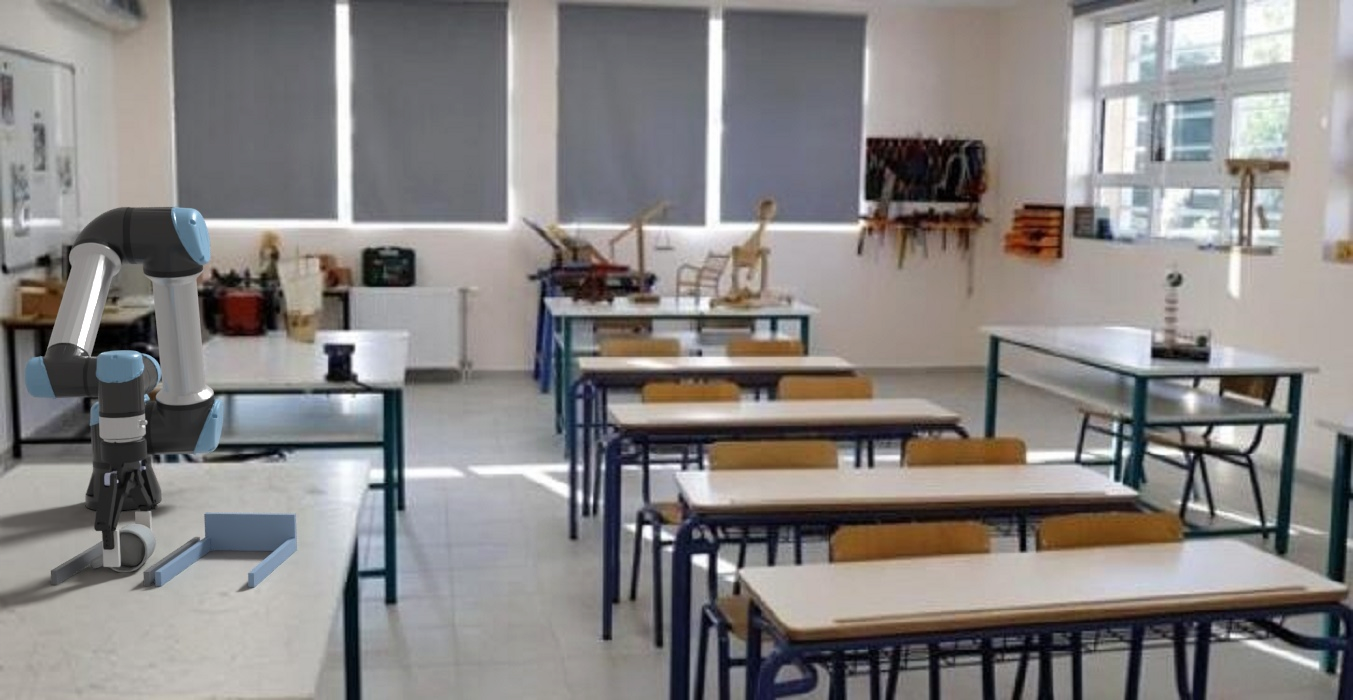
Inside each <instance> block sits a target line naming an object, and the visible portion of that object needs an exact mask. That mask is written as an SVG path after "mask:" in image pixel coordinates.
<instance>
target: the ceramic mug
mask: <svg viewBox="0 0 1353 700" xmlns="http://www.w3.org/2000/svg"><path fill="white" fill-rule="evenodd" d="M118 530H119V537H120V558H121V566H120V567H109V568H110V569H111V570H113V571H114V572H118V573H132V572H134V571H137V570H138V569H140V568H141V567H142V566H143V565H144V564H145V563H146V562H147V561H148V560H149V558H151V556H152V555H153V554H154V552H155V549H156V545H157V539H156V535H155V533H154V532H153V530H152V531H151V530H150V529H149V528H148V527H146V526H144V525H141V524H136V523H129V524H126V525H124V526H122V527H121V528H119V529H118ZM90 563H91V565H90V566H91V567H92V568H93V570H95V569H99V568H101V567H104V566H103V548H102V555H99V556H98V557H96V558H94V559H92V560H91V561H90Z"/></svg>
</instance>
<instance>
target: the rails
mask: <svg viewBox="0 0 1353 700" xmlns="http://www.w3.org/2000/svg"><path fill="white" fill-rule="evenodd" d="M200 540H201V537H200V536H194V537H193V538H191V539H189V540H188V541H187V542H185V543H184V544H183V545H181V546H180V547H178V548H176V549H174V550H173V551H172V552H171V553H169V554H168V555H166V556H165V557H162V559H160V560H158V561H157V562H156V563H154V564H153V565H150V567H148V568H147V569H144V571H143V573H142V574H143V586H144V587H150V586H152V585H153V584H154V583H155V572H156V571H157V570H159V569H160V568H161V567H163V566H164V565H166V564H167V563H169V562H170V561H172V560H173V559H174V558H176V557H177V556H179V555H180V554H182V553H183V552H184V551H186V550H187V549H189V548H190V547H192V546H193V545H195V544H196V543H197V542H199V541H200ZM102 548H103V546H102V540H101V541H99V542H98V543H96V544H94V545H93V546H91V547H89V548H88V549H87V548H86V549H85V550H83V551H82V552H80V553H79V554H77V555H75V556H73V557H72V558H70V559H68V560H66V561H65V562H63V563H61V564H60V565H58V566H56V567H54V568H53V569H50V583H51V586H53V585H54V586H57V585H59V584H61V583H63V582H64V581H66V580H68V579H69V578H72V577H73V576H75V575H76V574H77V573H79V572H81V571H82V570H84V569H86V568H87V567H89V566H92V565H91V563H90V561H91V560H92V559H94V558H96V557H98V556H99V555H102ZM155 584H156V583H155Z"/></svg>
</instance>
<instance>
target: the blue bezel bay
mask: <svg viewBox="0 0 1353 700" xmlns="http://www.w3.org/2000/svg"><path fill="white" fill-rule="evenodd" d="M203 514H204V516H203V517H204V538H202V539H200V541H199V542H197V543H196V544H195V545H193V546H192V547H190V548H189V549H187V550H186V551H184V552H183V553H182V554H180V555H179V556H177V557H176V558H174V559H173V560H172V561H170V562H169V563H167V564H166V565H164V566H163V567H161V568H160V569H159V570H157V571H156V572H155V587H163V586H164V585H165V584H167V583H168V582H170V581H171V580H172V579H173V578H175V577H176V576H178V575H179V574H181V573H182V572H184V570H186V569H187V568H189V567H190V566H191V565H193V564H194V563H195V562H197V561H198V560H199V559H201V558H203V557H204V556H206V555H207V554H208V553H210V551H238V552H239V551H242V552H243V551H246V552H249V551H250V552H251V551H253V552H255V551H256V552H257V551H258V552H261V551H262V552H263V551H264V552H271V553H270V554H269V555H268V556H266V558H264V559H263V560H262V561H261V562H259V563H258V564H256V566H254V568H252V569H251V570H249V572H248V573H247V582H248V588H256V586H258V585H259V584H260V583H261V582H262V581H263V580H264V579H266V578H267V577H268V576H269V575H270V574H271V573H272V572H274V571H275V569H277V568H278V567H279V566H280V565H282V563H284V562H285V561H286V560H287V559H288V558H290V557H291V556H292V555H293V554H294V553H295V552H296V551H297V550H298V541H297V539H298V538H297V537H298V536H297V533H298V532H297V513H291V512H290V513H289V512H288V513H285V512H284V513H281V512H280V513H279V512H278V513H277V512H276V513H273V512H272V513H271V512H263V513H262V512H205V513H203Z"/></svg>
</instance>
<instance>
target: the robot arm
mask: <svg viewBox="0 0 1353 700" xmlns="http://www.w3.org/2000/svg"><path fill="white" fill-rule="evenodd" d="M211 254H212V253H211V241H210V235H209V229H208V227H207V224H206V221H205V219H204V216H203V215H202V214H201V212H200V211H199V210H197V209H196V208H191V207H178V206H151V207H144V206H143V207H140V206H139V207H137V206H135V207H134V206H133V207H130V206H121V207H115V208H113V209H110V210H107V211H105V212H102V213H101V214H99V215H98V216H96V217H95V218H94V219H92V220H91V221H90V222H89V223H88V224H87V225H85V227H84V228H83V229H82V230H81V231H80V232H79V234H77V237H76V238H75V240H74V241H73V244H72V246H71V250H70V253H69V256H68V258H69V259H68V260H69V264H70V266H71V269H70V272H69V275H68V279H67V282H66V285H65V288H64V292H63V295H62V297H61V298H62V299H61V301H60V305H59V308H58V312H57V314H56V317H55V321H54V326H53V327H52V328H53V329H52V332H51V335H50V337H49V342H48V346H47V349H46V352H45V354H44V356H41V355H39V356H33V357H31V358H30V359H28V361H27V362H26V364H25V368H24V384H25V388H26V390H27V392H28V394H29V395H30V396H31V397H34V398H38V399H39V398H40V399H54V400H56V399H68V398H69V399H72V398H73V399H74V398H98V400H97V401H96V402H95V403H93V404H92V406H91V408H90V422H89V427H90V440H91V441H90V442H91V456H92V473H91V475H90V480H89V482H88V485H87V489H86V492H85V494H84V495H85V496H84V498H85V499H84V501H85V507H86V508H88V509H89V510H90V509H91V510H93V511H94V510H95V511H96V512H95V513H96V514H95V517H94V518H95V519H94V526H93V527H94V528H93V529H94V530H95V532H101V541H102V546H103V566H102V567H103V568H110V567H120V566H121V558H120V537H119V529H117V527H118V523H119V520H120V519H119V518H120V514H121V512H122V511H129V510H136V511H134V516H135V518H134V521H135V522H134V524H141V525H144V526H146V527H148V528H149V529H150V530H151V531H152V532H153V518H152V516H153V515H152V511H156V510H157V509H158V504H159V503H160V502H161V501H162V499H163V498H162V488H161V486H160V482H159V480H158V478H157V476H156V474H155V471H154V469H153V466H152V455H154V456H155V455H192V456H193V455H198V454H206V453H207V454H209V453H210V454H211V453H212V452H214V451H215V450H216V449H217V448H218V446H219V443H220V440H221V435H222V430H223V424H224V423H223V422H224V402H223V400H221V399H218V398H215V393H214V390H213V388H212V387H210V386H209V385H207V384H206V378H205V377H206V376H205V366H204V365H205V364H204V355H203V354H204V351H203V343H202V342H203V341H202V330H201V328H202V327H201V320H200V318H201V317H200V316H201V315H200V307H199V306H200V305H199V296H198V295H199V293H198V283H197V279H198V278H199V276H200V275H201V274H203V272H204V266H205V265H207V264H209V262H210V260H211V256H212V255H211ZM122 265H123V266H124V265H142V270H143V276H145V277H146V278H147V279H149V281H151V283H152V291H153V302H154V303H153V305H154V313H155V321H156V322H155V323H156V331H157V343H158V344H157V345H158V353H159V354H158V355H159V362H158V360H157V359H155V358H154V357H152V356H151V355H149V354H146V353H141V352H139V351H136V350H129V349H128V350H123V349H122V350H110V351H103V352H101V353H99V354H98V355H97V356H93V355H92V353H93V349H94V346H95V342H96V338H97V334H98V331H99V328H100V324H101V320H102V317H103V314H104V309H105V306H106V302H107V299H108V295H109V292H110V291H109V290H110V288H111V285H112V284H111V283H112V280H113V277H116V276H117V274H118V273H120V270H121V268H122ZM159 363H160V364H159ZM160 381H161V382H162V384H161V385H162V386H161V387H162V388H161V389H160V390H159V391H158V392H157V393H156V395H155V400H151V399H150V397H149V393H151V392H152V391H154V389H155V388H156V387H157V386H158V385H159V383H160Z"/></svg>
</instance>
